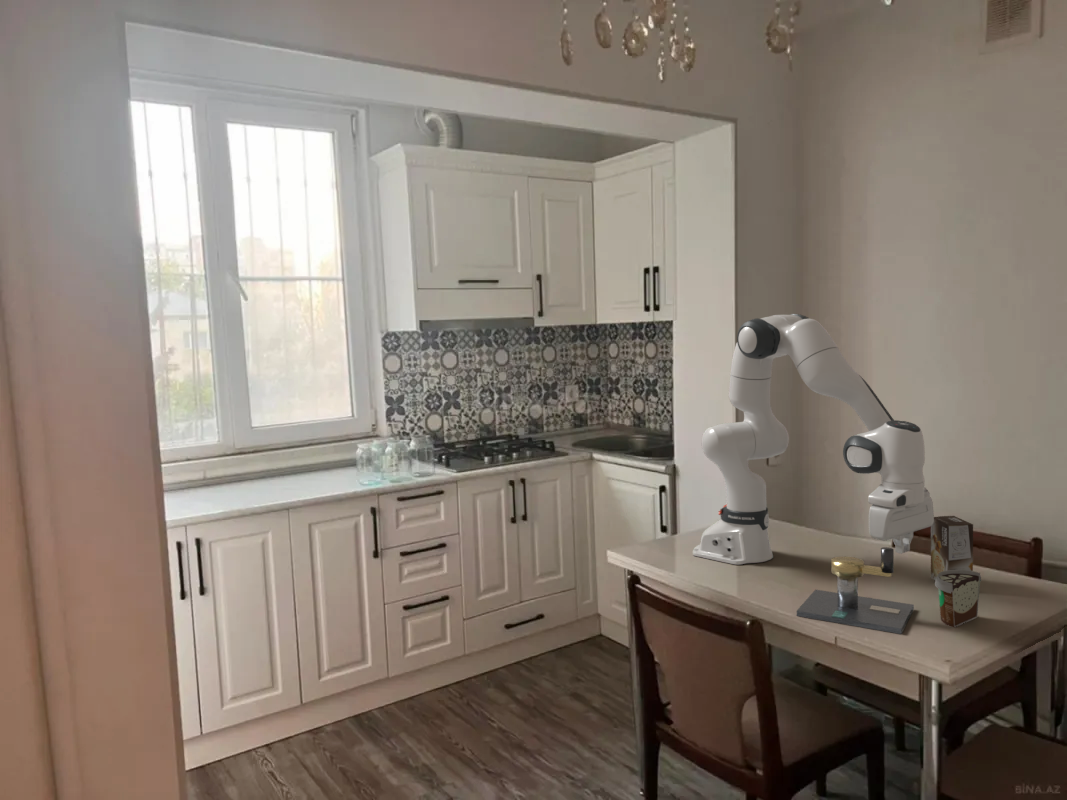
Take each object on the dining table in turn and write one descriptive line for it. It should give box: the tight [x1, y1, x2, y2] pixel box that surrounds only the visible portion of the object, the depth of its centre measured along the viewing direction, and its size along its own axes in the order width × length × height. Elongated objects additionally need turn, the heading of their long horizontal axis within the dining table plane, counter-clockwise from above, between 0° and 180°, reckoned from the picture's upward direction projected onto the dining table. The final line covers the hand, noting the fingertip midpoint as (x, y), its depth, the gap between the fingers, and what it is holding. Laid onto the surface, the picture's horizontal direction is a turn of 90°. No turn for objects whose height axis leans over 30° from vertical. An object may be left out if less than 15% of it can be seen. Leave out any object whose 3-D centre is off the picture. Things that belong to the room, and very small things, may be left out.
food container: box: [934, 570, 982, 628], centre depth 173 cm, size 12×6×10 cm, turn 123°
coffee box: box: [930, 515, 974, 582], centre depth 195 cm, size 9×6×16 cm
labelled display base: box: [796, 576, 915, 635], centre depth 178 cm, size 22×16×8 cm
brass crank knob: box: [830, 546, 895, 578], centre depth 178 cm, size 13×7×7 cm, turn 55°
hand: (902, 551), depth 178 cm, fingers closed
